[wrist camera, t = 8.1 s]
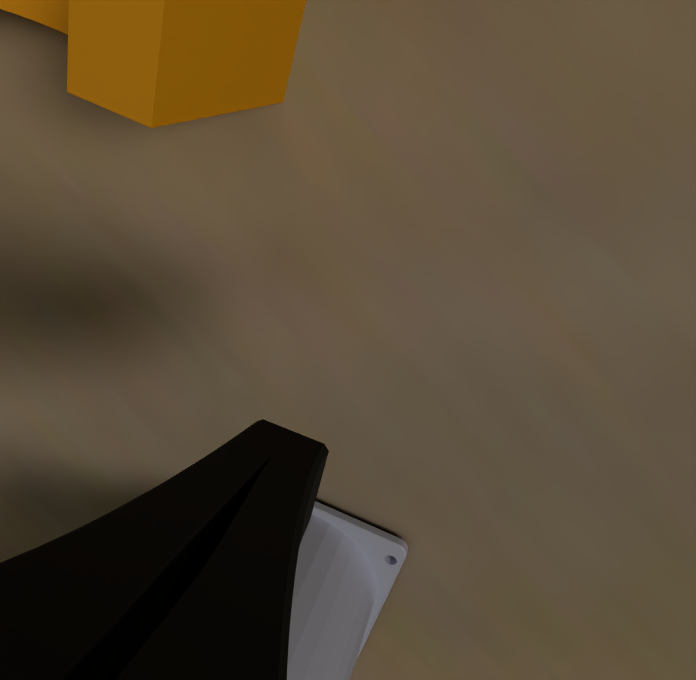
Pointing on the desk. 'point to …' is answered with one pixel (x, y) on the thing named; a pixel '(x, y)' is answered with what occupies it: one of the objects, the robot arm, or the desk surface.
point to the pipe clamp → (173, 53)
